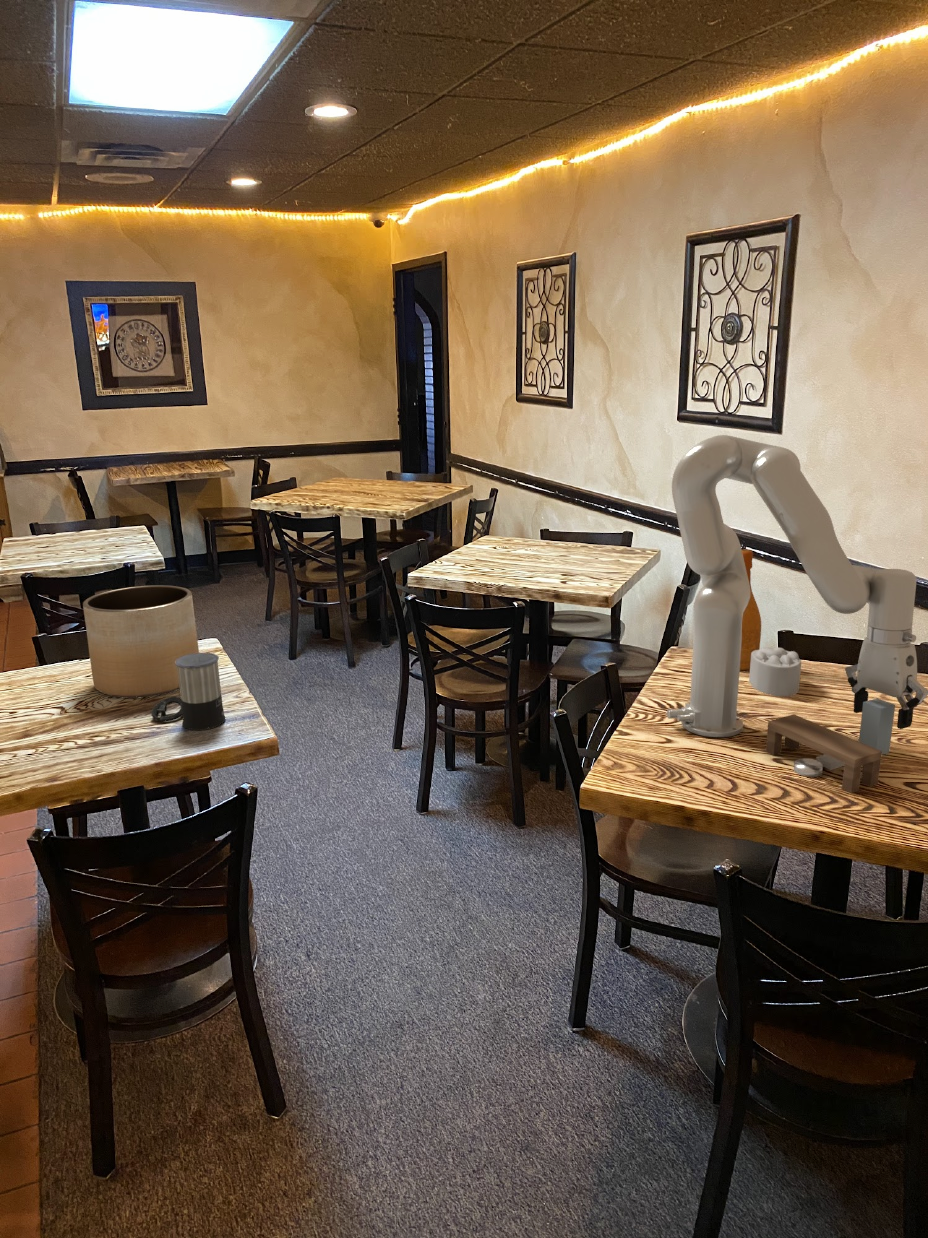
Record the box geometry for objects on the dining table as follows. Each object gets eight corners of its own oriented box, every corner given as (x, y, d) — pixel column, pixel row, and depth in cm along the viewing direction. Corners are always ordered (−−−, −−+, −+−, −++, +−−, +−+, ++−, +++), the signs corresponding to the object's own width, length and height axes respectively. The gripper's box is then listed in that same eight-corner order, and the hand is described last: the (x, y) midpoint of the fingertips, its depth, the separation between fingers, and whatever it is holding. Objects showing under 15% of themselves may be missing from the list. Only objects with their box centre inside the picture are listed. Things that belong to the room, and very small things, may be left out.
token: (804, 779, 159) (805, 772, 159) (788, 768, 164) (788, 761, 163) (828, 775, 160) (828, 768, 160) (811, 763, 165) (811, 756, 164)
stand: (851, 793, 153) (854, 759, 151) (765, 751, 170) (768, 721, 168) (877, 784, 156) (882, 751, 154) (791, 744, 173) (794, 714, 171)
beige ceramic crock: (101, 671, 224) (89, 589, 218) (202, 661, 231) (194, 581, 225) (87, 706, 201) (73, 615, 195) (200, 694, 207) (191, 605, 201)
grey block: (871, 745, 172) (877, 698, 169) (889, 752, 169) (895, 704, 166) (814, 762, 165) (819, 713, 162) (831, 770, 162) (837, 721, 159)
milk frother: (226, 728, 187) (219, 663, 183) (149, 737, 183) (140, 671, 179) (224, 705, 200) (218, 644, 196) (153, 713, 196) (145, 651, 192)
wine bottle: (750, 658, 224) (758, 545, 216) (764, 671, 215) (773, 553, 207) (712, 659, 224) (720, 546, 216) (725, 672, 215) (733, 554, 206)
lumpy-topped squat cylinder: (788, 677, 211) (791, 643, 208) (806, 696, 198) (810, 661, 196) (745, 677, 211) (747, 644, 209) (761, 697, 199) (763, 661, 196)
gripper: (944, 642, 157) (935, 729, 162) (863, 621, 172) (856, 702, 177) (917, 649, 154) (908, 738, 158) (836, 627, 169) (831, 709, 173)
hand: (881, 719), depth 167 cm, fingers open, 9 cm apart
